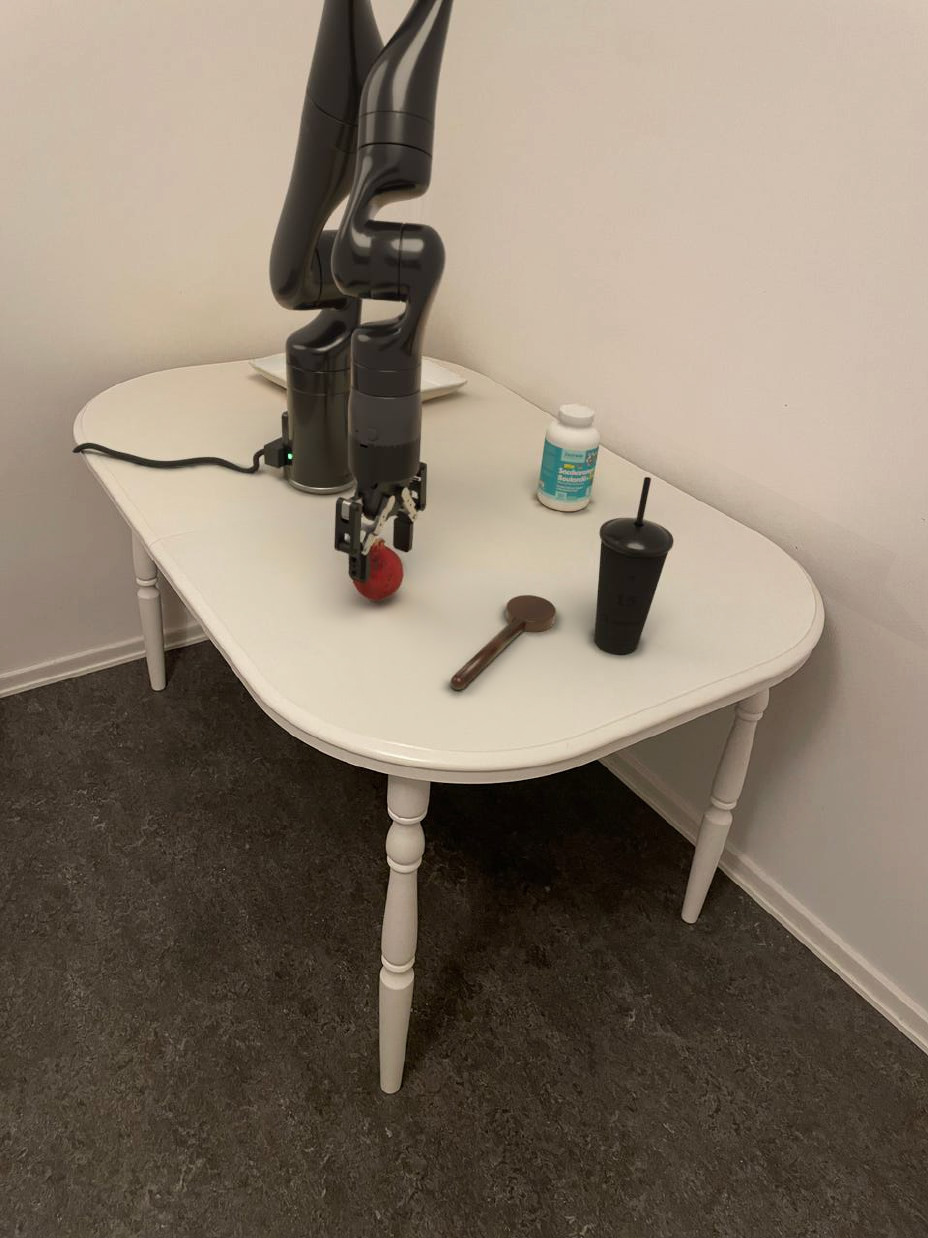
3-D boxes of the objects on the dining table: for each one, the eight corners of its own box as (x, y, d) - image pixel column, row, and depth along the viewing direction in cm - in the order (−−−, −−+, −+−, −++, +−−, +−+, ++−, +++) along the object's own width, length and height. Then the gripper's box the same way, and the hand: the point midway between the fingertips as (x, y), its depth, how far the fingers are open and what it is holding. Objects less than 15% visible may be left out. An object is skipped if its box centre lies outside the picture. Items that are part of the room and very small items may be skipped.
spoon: (430, 682, 98) (431, 669, 97) (519, 599, 113) (521, 588, 112) (477, 702, 96) (479, 689, 95) (562, 615, 111) (564, 604, 110)
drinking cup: (575, 622, 110) (602, 461, 98) (640, 623, 110) (674, 463, 99) (588, 662, 103) (618, 494, 92) (657, 663, 104) (695, 496, 93)
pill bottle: (554, 517, 131) (567, 423, 124) (526, 494, 136) (538, 403, 129) (599, 508, 134) (615, 417, 127) (571, 486, 139) (584, 397, 132)
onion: (394, 618, 108) (397, 556, 103) (344, 609, 108) (345, 547, 104) (407, 591, 112) (410, 531, 108) (359, 583, 113) (360, 523, 109)
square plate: (246, 380, 165) (245, 358, 163) (371, 353, 181) (372, 333, 179) (341, 433, 149) (341, 409, 147) (469, 398, 166) (471, 377, 163)
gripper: (392, 400, 105) (389, 531, 114) (312, 439, 95) (315, 580, 104) (451, 416, 102) (442, 549, 111) (375, 459, 92) (372, 602, 101)
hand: (381, 564), depth 107 cm, fingers open, 8 cm apart
